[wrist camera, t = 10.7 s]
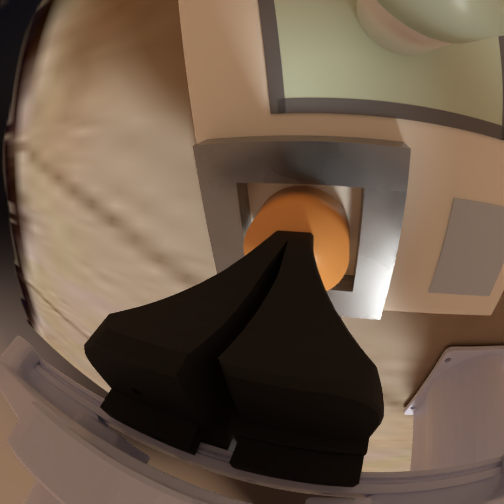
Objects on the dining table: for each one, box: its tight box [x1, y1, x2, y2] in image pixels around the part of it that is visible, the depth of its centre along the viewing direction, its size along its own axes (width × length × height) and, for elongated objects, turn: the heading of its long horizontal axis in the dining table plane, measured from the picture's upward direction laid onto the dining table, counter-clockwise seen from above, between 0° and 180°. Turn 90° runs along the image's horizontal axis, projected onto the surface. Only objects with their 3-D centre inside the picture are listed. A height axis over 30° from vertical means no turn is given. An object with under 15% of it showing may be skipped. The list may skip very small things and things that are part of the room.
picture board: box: [178, 0, 504, 315], centre depth 9 cm, size 18×16×1 cm
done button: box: [243, 186, 350, 291], centre depth 11 cm, size 4×4×2 cm
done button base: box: [193, 135, 411, 320], centre depth 12 cm, size 8×8×1 cm
